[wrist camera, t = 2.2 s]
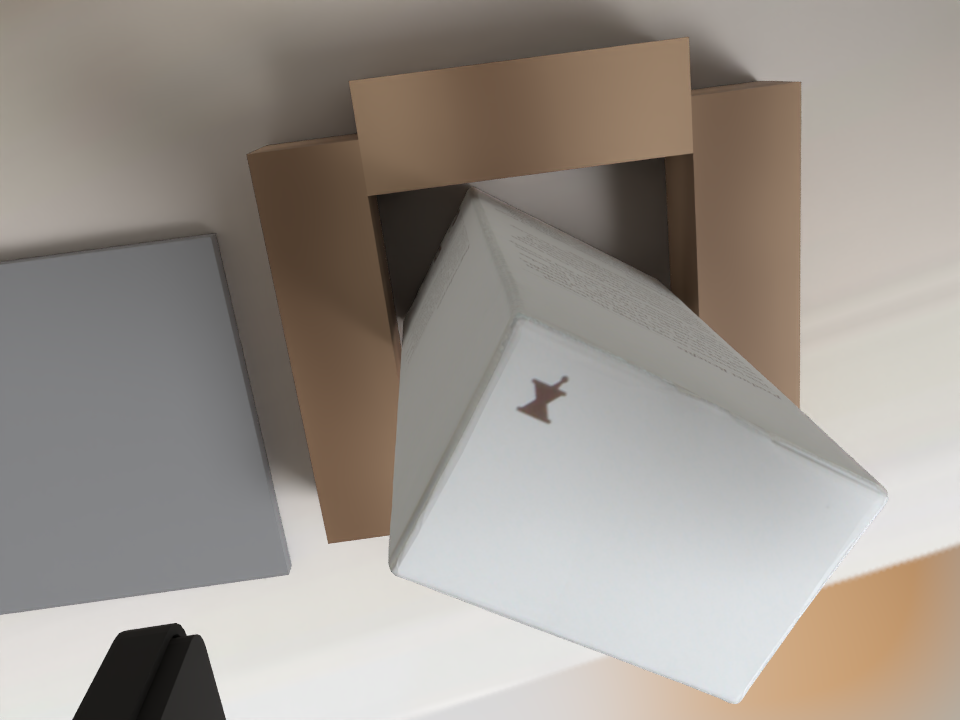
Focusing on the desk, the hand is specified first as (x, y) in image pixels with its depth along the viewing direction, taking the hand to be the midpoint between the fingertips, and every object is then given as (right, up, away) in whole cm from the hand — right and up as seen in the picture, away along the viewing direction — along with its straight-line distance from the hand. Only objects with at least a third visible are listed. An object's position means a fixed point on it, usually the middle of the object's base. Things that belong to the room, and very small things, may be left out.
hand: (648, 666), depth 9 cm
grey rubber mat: (-13, +1, +14) cm, 19 cm away
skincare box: (0, +5, +14) cm, 15 cm away
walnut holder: (0, +5, +14) cm, 15 cm away
